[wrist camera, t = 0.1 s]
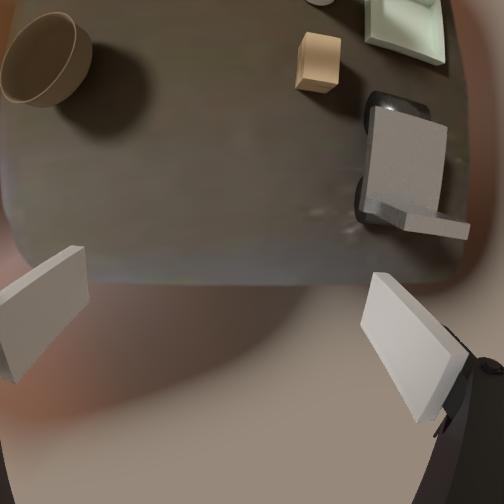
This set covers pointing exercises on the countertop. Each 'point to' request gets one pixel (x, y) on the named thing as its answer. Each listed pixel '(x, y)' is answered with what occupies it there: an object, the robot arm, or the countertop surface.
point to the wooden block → (318, 63)
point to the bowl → (46, 61)
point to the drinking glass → (320, 2)
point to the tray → (407, 28)
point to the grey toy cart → (404, 169)
